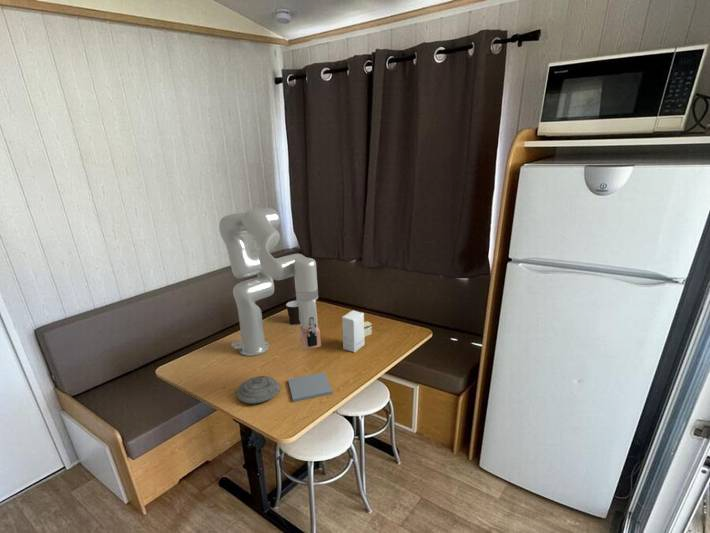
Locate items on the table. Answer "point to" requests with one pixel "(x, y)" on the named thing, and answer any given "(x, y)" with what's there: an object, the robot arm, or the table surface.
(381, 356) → the table surface
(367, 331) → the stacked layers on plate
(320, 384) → the slate mat
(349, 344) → the skincare box
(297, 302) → the coffee mug
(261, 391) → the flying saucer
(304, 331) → the terracotta cube
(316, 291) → the robot arm
